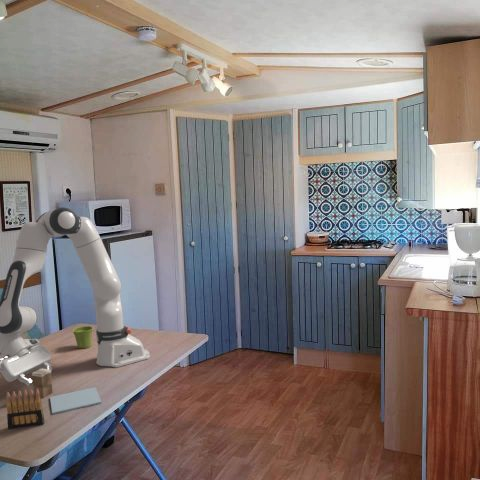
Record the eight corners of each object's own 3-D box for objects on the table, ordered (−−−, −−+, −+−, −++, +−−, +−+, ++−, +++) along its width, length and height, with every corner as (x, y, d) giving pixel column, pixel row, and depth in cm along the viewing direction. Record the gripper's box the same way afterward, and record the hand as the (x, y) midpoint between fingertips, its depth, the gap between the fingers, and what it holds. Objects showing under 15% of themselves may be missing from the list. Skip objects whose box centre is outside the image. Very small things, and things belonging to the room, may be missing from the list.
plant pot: (70, 347, 234) (69, 329, 233) (89, 342, 240) (87, 324, 239) (79, 351, 227) (77, 333, 226) (98, 346, 234) (96, 328, 233)
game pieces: (44, 371, 206) (43, 364, 205) (52, 370, 206) (51, 363, 206) (34, 382, 194) (33, 374, 194) (43, 381, 194) (42, 374, 194)
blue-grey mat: (95, 388, 184) (95, 387, 184) (101, 403, 171) (101, 401, 171) (50, 398, 178) (49, 396, 178) (52, 414, 165) (52, 412, 165)
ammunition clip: (7, 429, 156) (3, 393, 155) (9, 426, 158) (5, 391, 157) (43, 424, 158) (39, 389, 157) (44, 422, 160) (40, 386, 158)
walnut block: (43, 391, 184) (40, 368, 183) (52, 392, 183) (50, 369, 182) (34, 396, 180) (31, 373, 179) (43, 397, 179) (41, 374, 177)
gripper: (-3, 355, 173) (22, 385, 170) (40, 337, 192) (63, 363, 189) (-11, 367, 175) (13, 396, 172) (33, 347, 194) (55, 373, 191)
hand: (40, 379), depth 181 cm, fingers open, 8 cm apart
